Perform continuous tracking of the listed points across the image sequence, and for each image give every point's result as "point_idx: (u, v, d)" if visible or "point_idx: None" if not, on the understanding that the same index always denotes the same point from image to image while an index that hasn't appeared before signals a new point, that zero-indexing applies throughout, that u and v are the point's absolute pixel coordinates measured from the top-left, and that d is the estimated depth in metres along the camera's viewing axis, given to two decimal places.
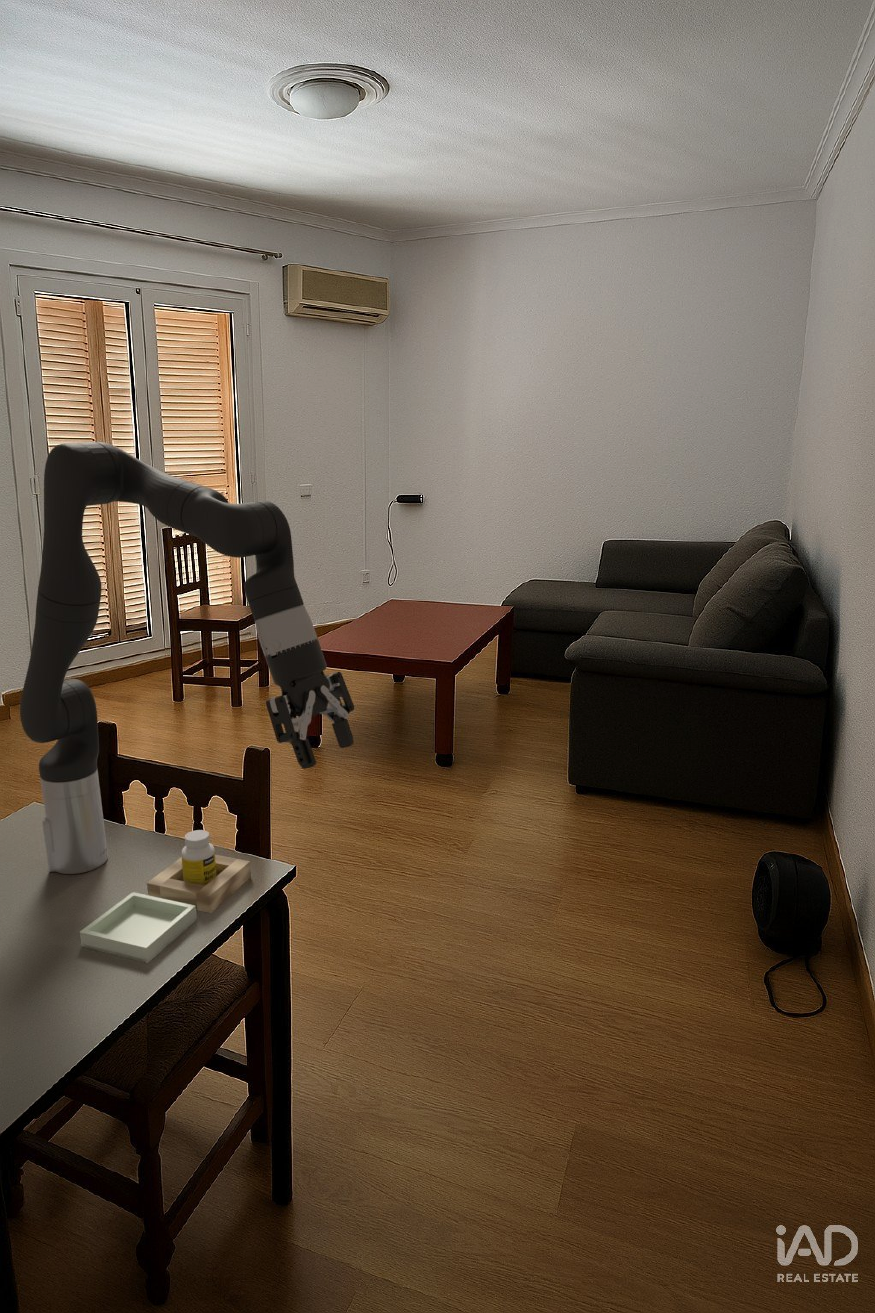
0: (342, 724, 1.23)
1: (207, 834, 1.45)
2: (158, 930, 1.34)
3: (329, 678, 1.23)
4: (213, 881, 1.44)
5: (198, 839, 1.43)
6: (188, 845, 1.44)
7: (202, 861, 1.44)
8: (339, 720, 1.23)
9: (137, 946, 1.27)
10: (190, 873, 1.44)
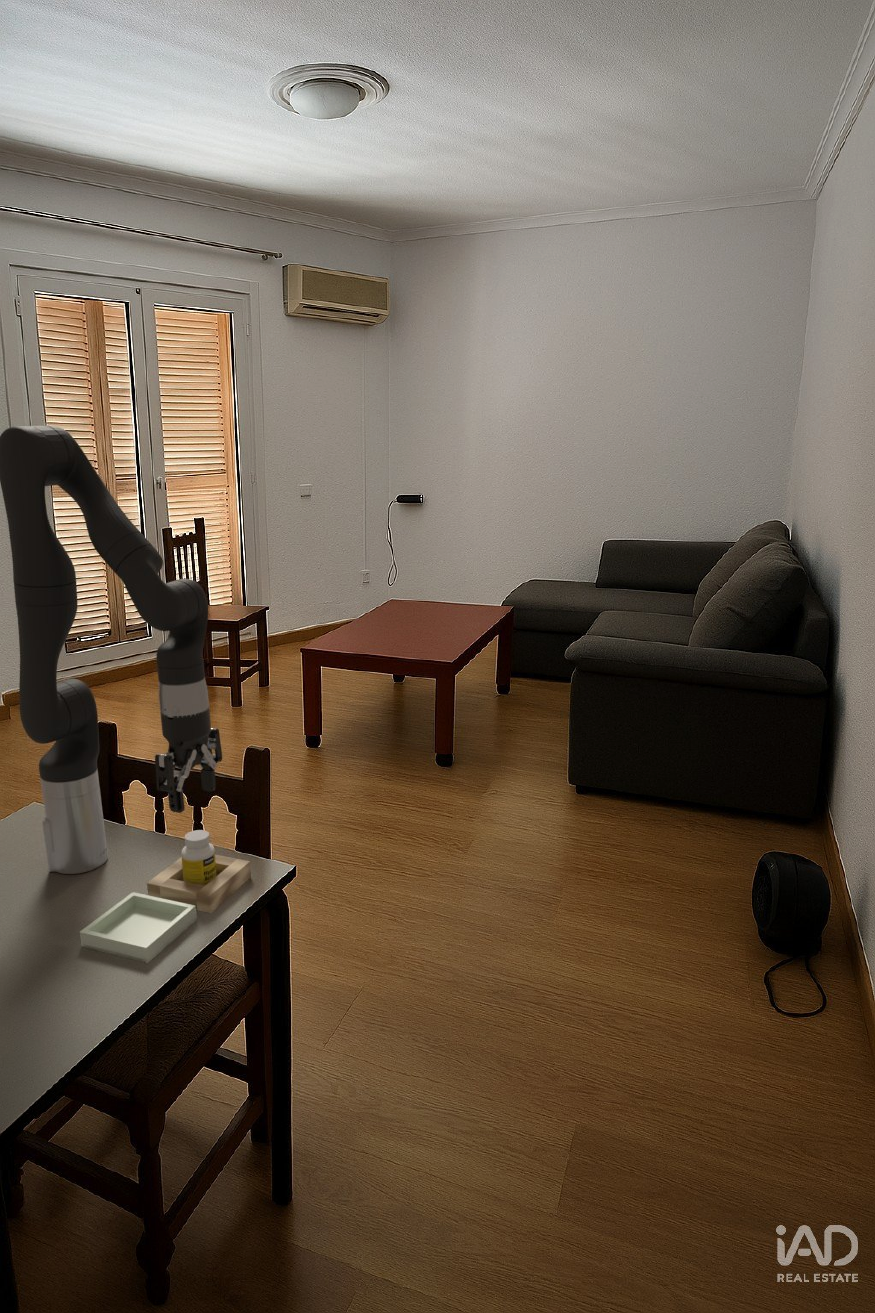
0: (210, 773, 1.46)
1: (207, 834, 1.45)
2: (158, 930, 1.34)
3: (208, 733, 1.45)
4: (213, 881, 1.44)
5: (198, 839, 1.43)
6: (188, 845, 1.44)
7: (202, 861, 1.44)
8: (208, 769, 1.46)
9: (137, 946, 1.27)
10: (190, 873, 1.44)
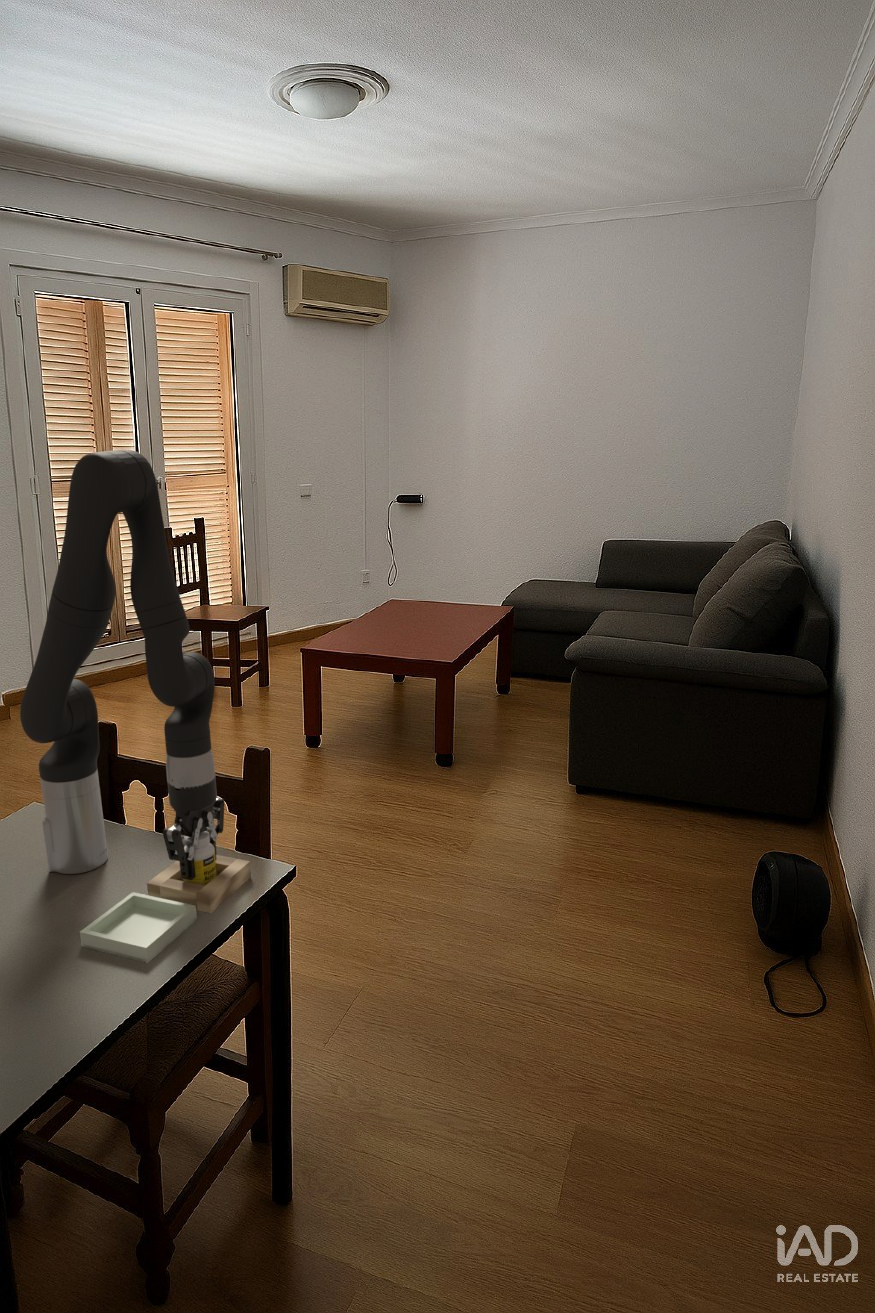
0: None
1: (207, 834, 1.45)
2: (158, 930, 1.34)
3: None
4: (213, 881, 1.44)
5: (198, 839, 1.43)
6: None
7: (202, 860, 1.44)
8: None
9: (137, 946, 1.27)
10: None
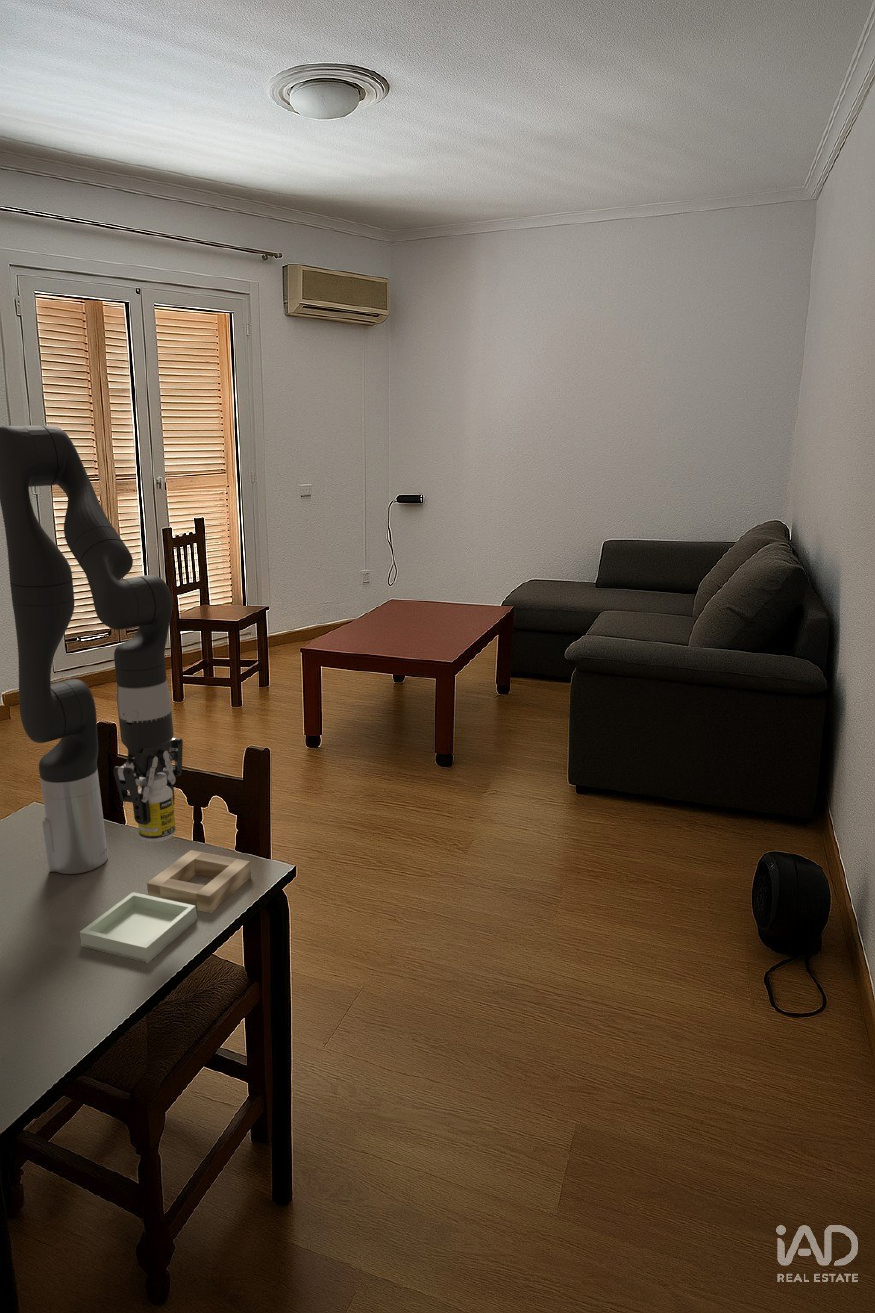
0: None
1: (164, 775, 1.33)
2: (158, 930, 1.34)
3: (171, 742, 1.36)
4: (213, 881, 1.44)
5: (154, 780, 1.32)
6: None
7: (159, 803, 1.32)
8: None
9: (137, 946, 1.27)
10: None
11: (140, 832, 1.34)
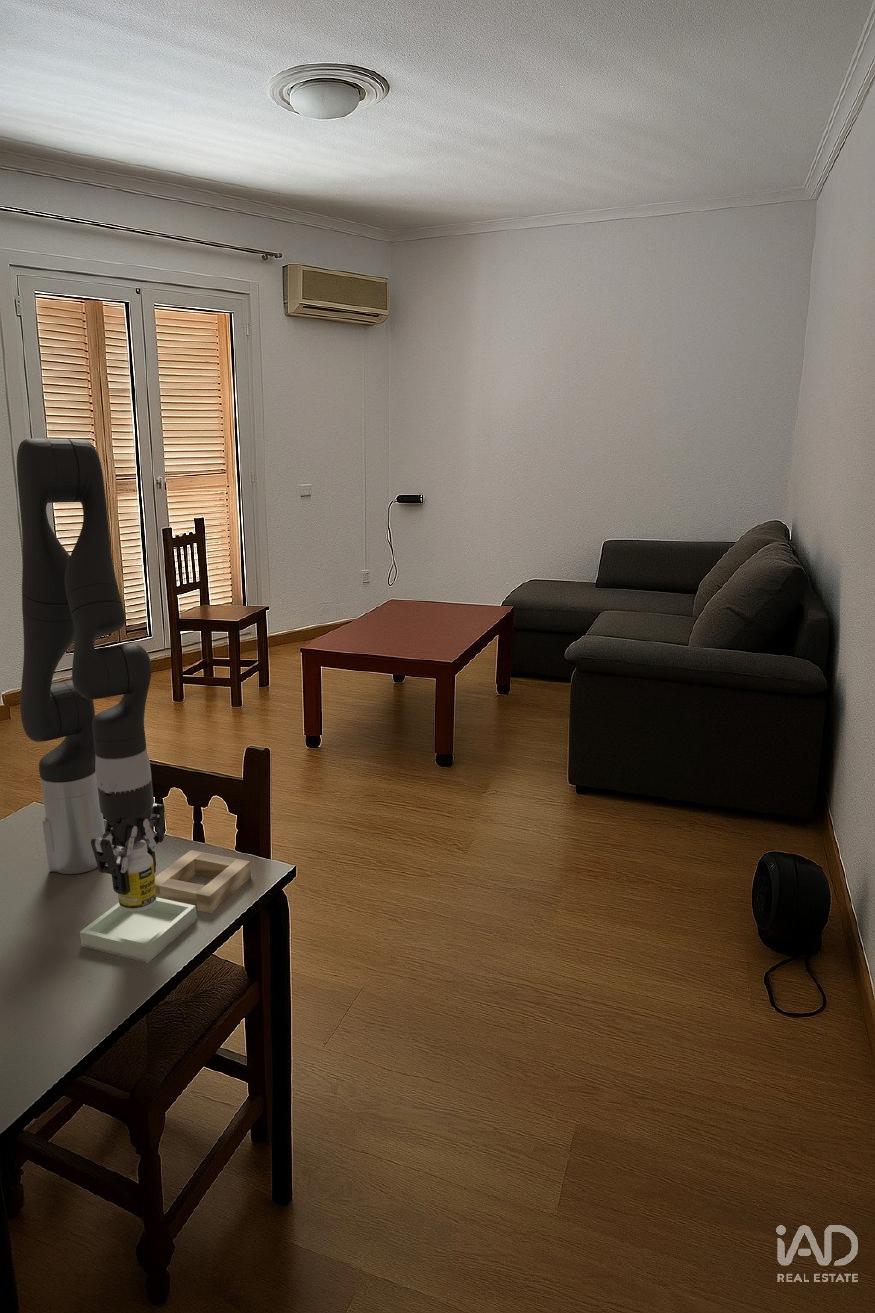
0: None
1: (144, 844, 1.31)
2: (158, 930, 1.34)
3: (152, 808, 1.34)
4: (213, 881, 1.44)
5: (133, 850, 1.29)
6: None
7: (138, 873, 1.29)
8: (147, 851, 1.34)
9: (137, 946, 1.27)
10: None
11: (120, 901, 1.31)
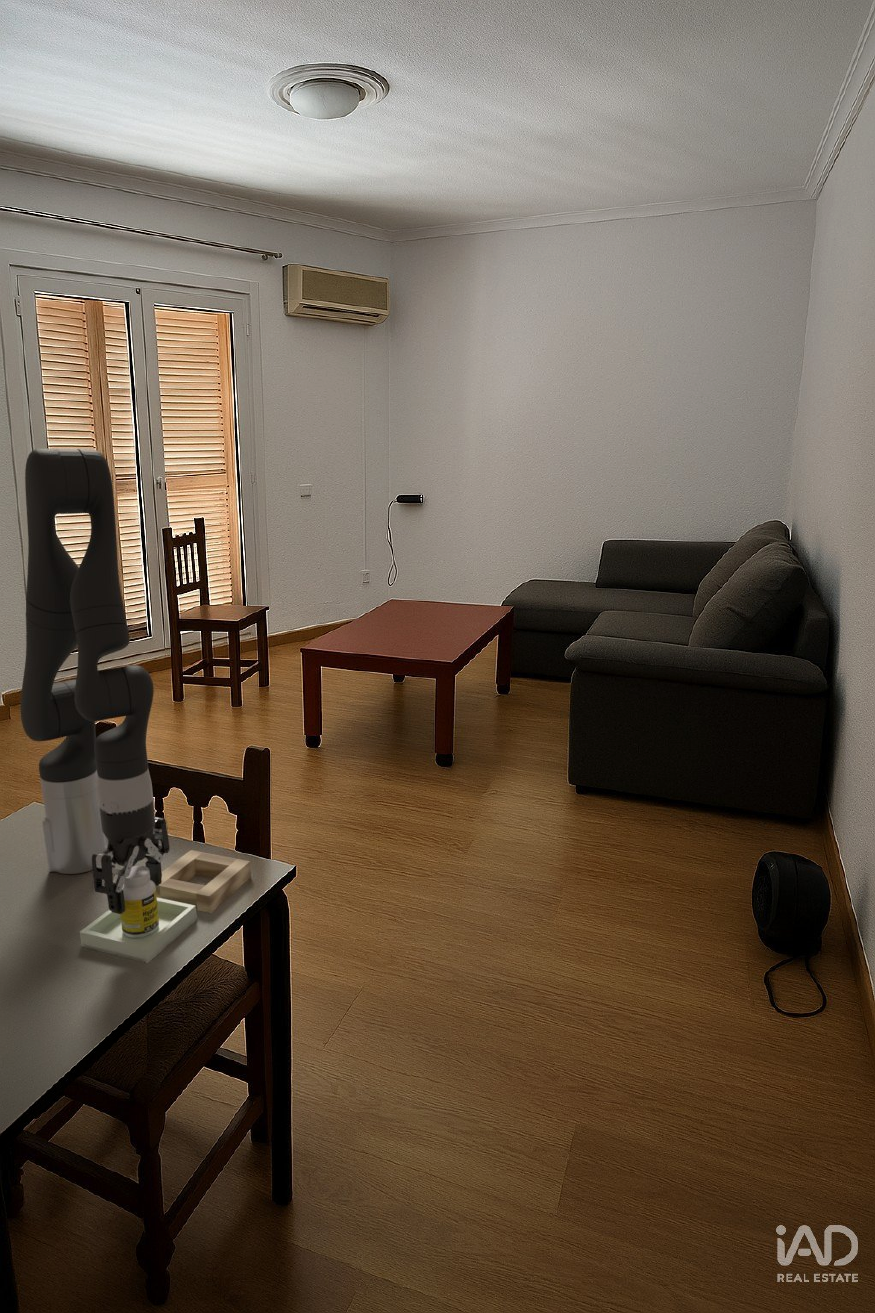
0: (155, 866, 1.36)
1: (147, 871, 1.33)
2: (158, 930, 1.34)
3: (153, 824, 1.35)
4: (213, 881, 1.44)
5: (136, 877, 1.31)
6: (125, 883, 1.31)
7: (141, 900, 1.31)
8: (153, 862, 1.36)
9: (137, 946, 1.27)
10: (128, 914, 1.31)
11: (123, 927, 1.33)
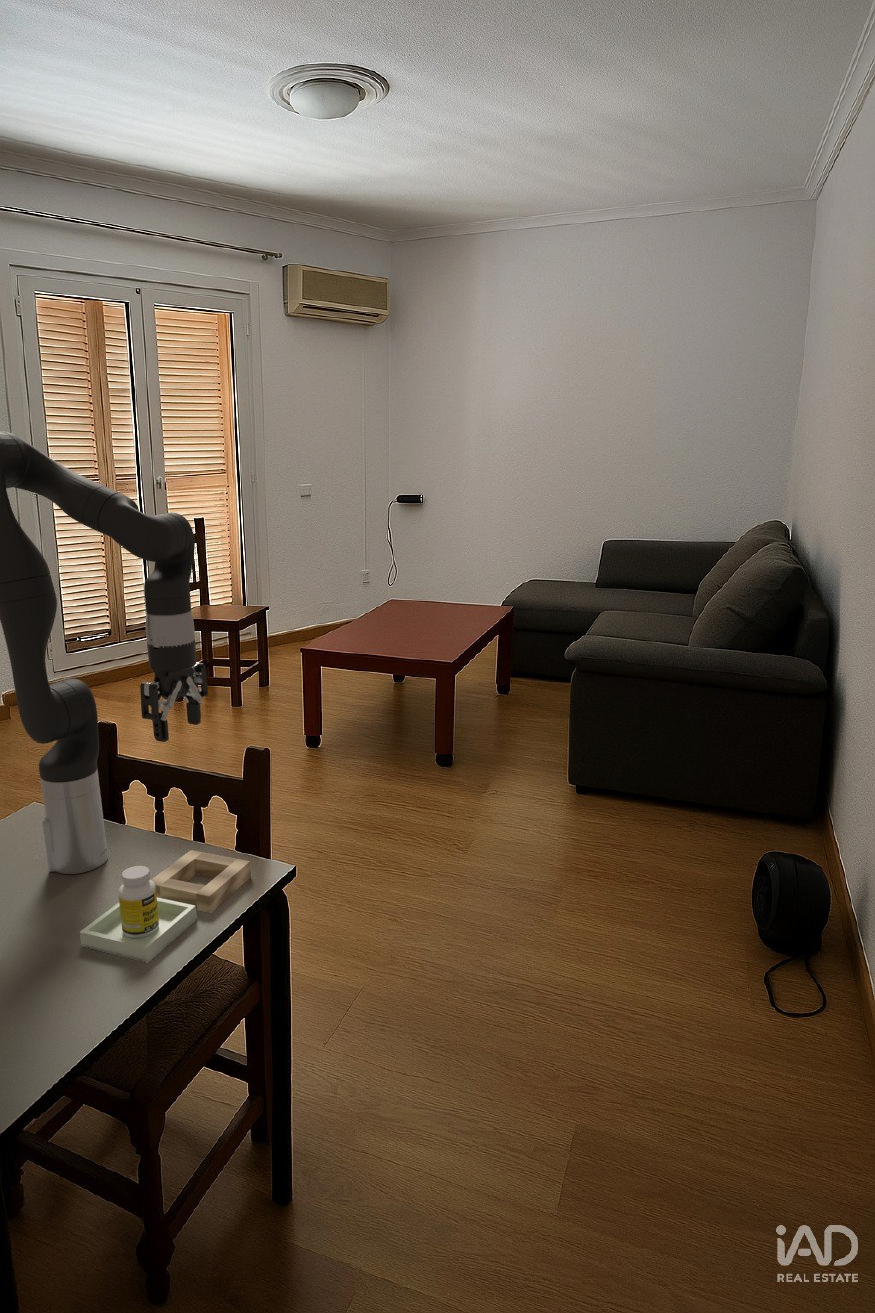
0: (195, 706, 1.49)
1: (147, 871, 1.33)
2: (158, 930, 1.34)
3: (194, 667, 1.48)
4: (213, 881, 1.44)
5: (136, 877, 1.31)
6: (125, 883, 1.31)
7: (141, 900, 1.31)
8: (193, 702, 1.49)
9: (137, 946, 1.27)
10: (128, 914, 1.31)
11: (123, 927, 1.33)
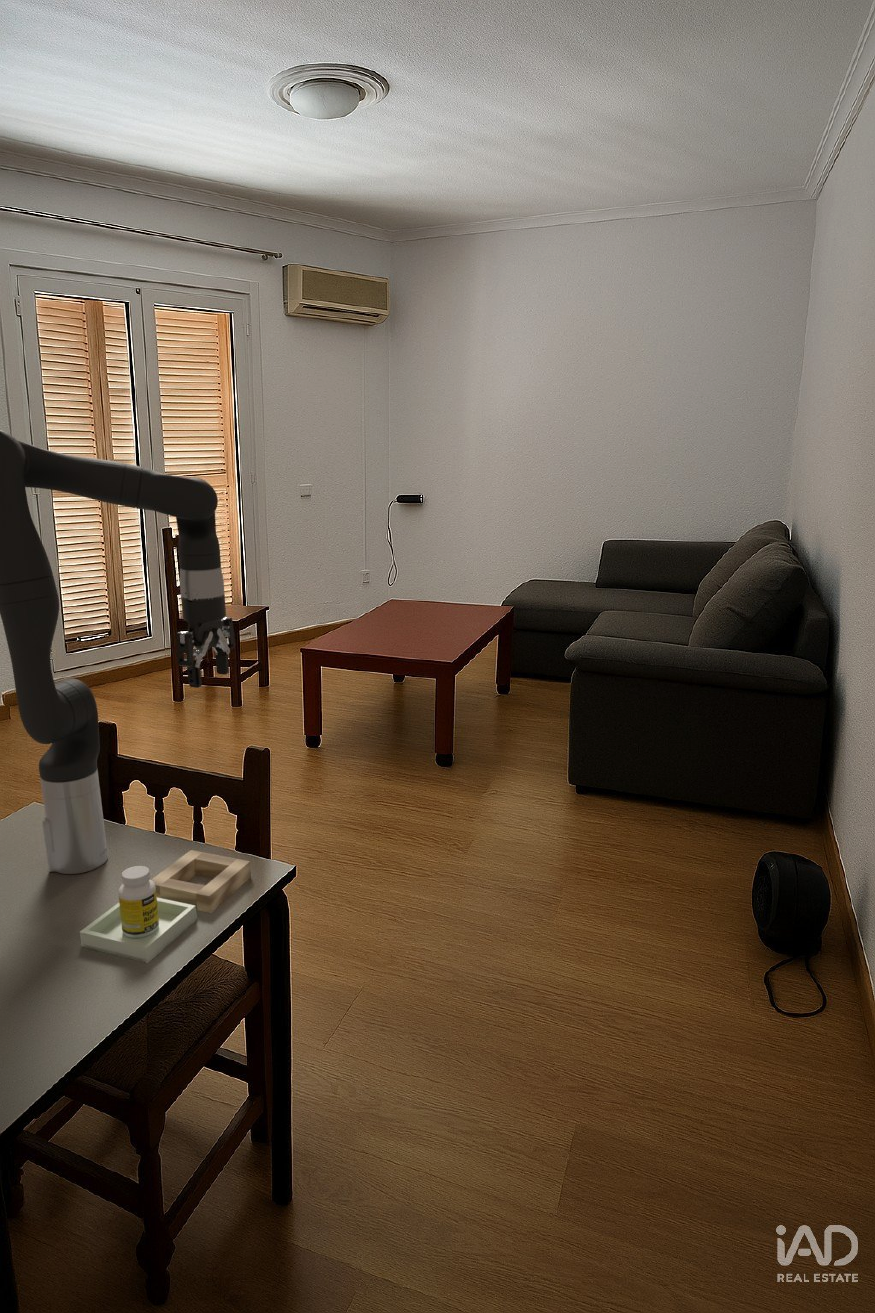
0: (224, 657, 1.62)
1: (147, 871, 1.33)
2: (158, 930, 1.34)
3: (222, 621, 1.61)
4: (213, 881, 1.44)
5: (136, 877, 1.31)
6: (125, 883, 1.31)
7: (141, 900, 1.31)
8: (222, 653, 1.62)
9: (137, 946, 1.27)
10: (128, 914, 1.31)
11: (123, 927, 1.33)
